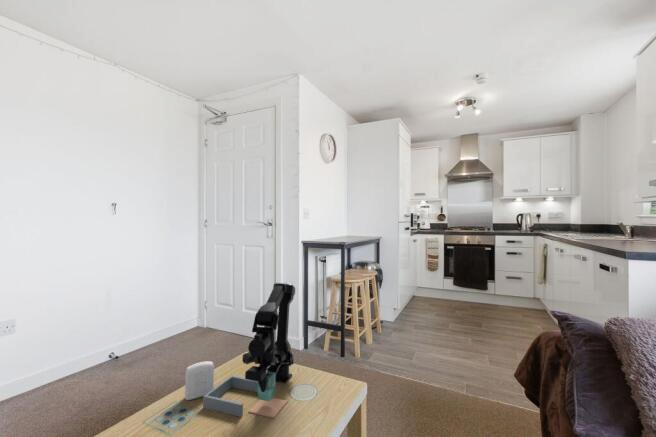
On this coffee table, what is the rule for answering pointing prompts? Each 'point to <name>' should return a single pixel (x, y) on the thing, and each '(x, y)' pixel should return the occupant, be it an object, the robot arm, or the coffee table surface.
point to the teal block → (268, 388)
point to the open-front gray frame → (227, 406)
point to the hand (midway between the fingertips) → (266, 388)
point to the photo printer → (199, 380)
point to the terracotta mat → (268, 407)
